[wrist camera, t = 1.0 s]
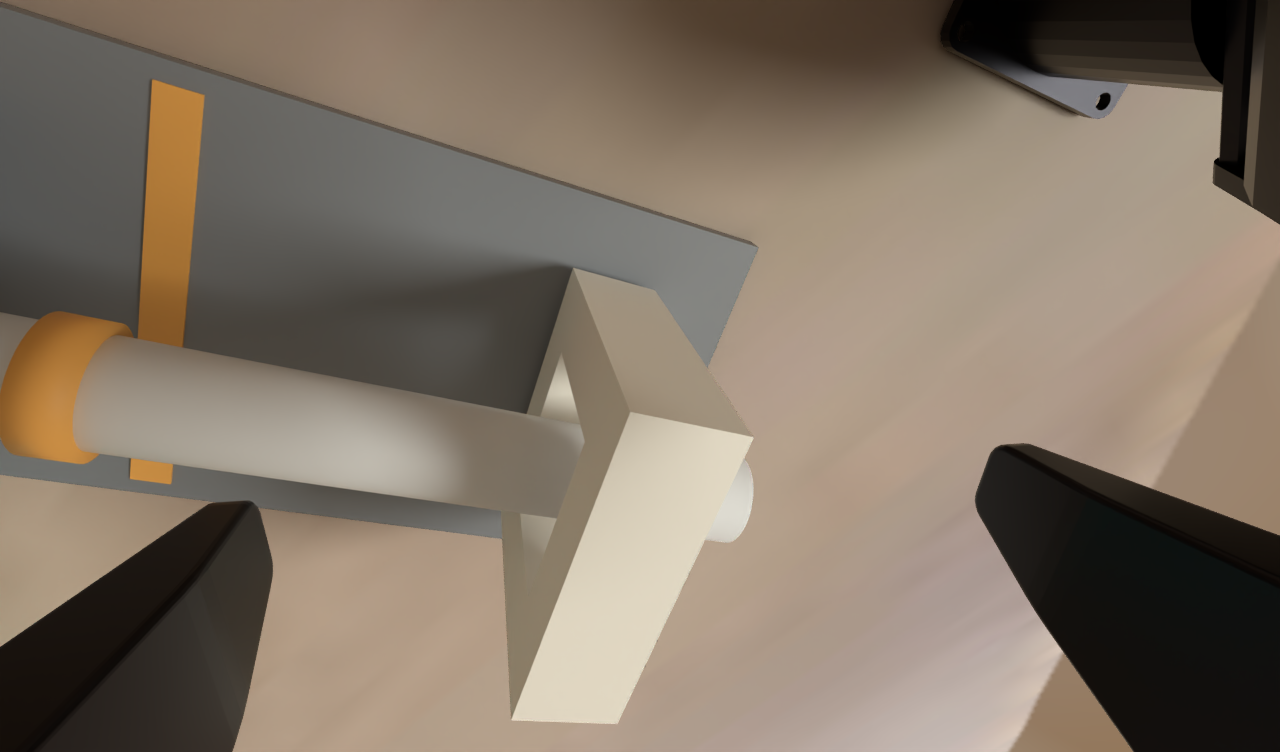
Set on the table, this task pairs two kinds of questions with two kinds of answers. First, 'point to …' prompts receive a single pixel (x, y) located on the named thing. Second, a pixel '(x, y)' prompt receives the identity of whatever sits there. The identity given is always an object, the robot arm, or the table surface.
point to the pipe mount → (296, 295)
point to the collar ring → (614, 502)
